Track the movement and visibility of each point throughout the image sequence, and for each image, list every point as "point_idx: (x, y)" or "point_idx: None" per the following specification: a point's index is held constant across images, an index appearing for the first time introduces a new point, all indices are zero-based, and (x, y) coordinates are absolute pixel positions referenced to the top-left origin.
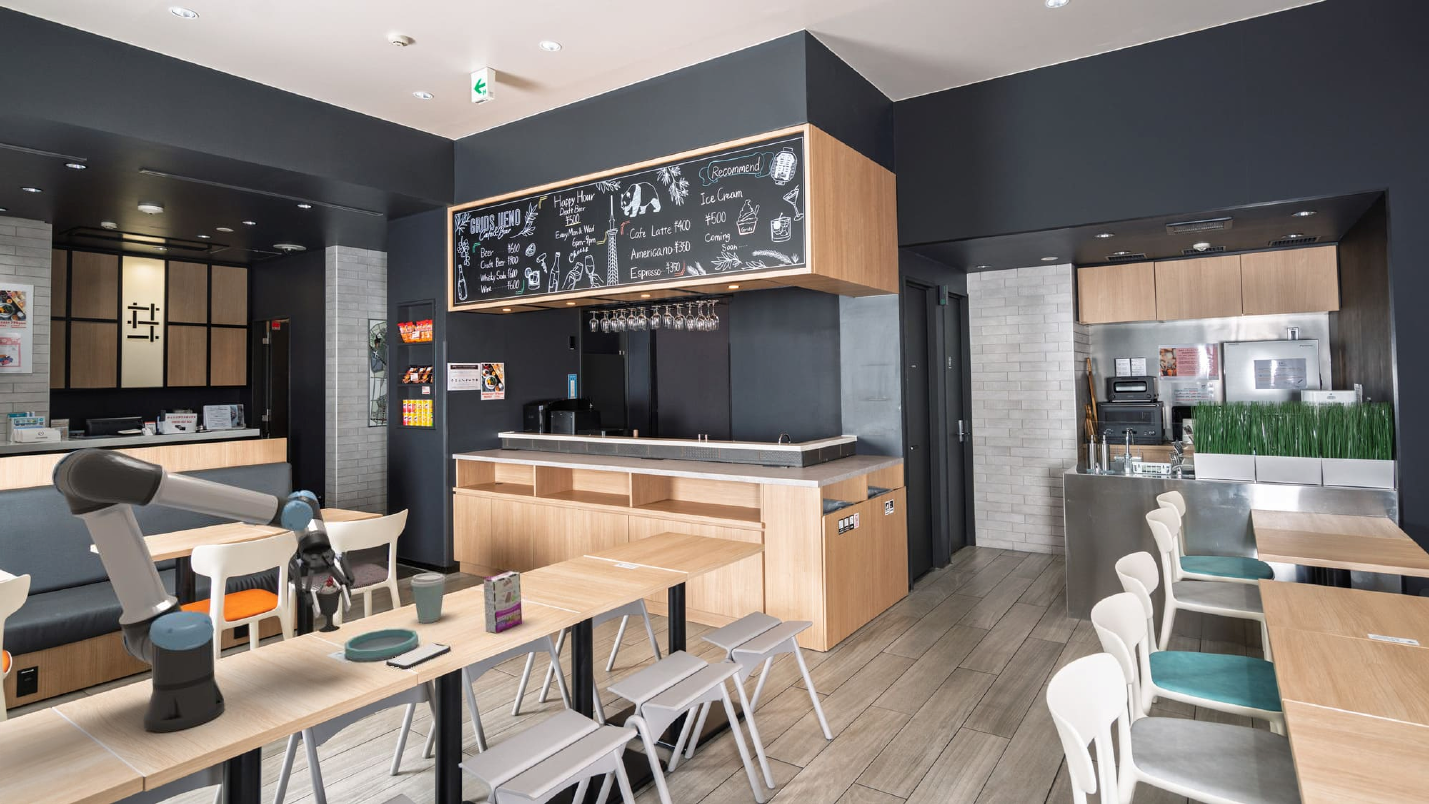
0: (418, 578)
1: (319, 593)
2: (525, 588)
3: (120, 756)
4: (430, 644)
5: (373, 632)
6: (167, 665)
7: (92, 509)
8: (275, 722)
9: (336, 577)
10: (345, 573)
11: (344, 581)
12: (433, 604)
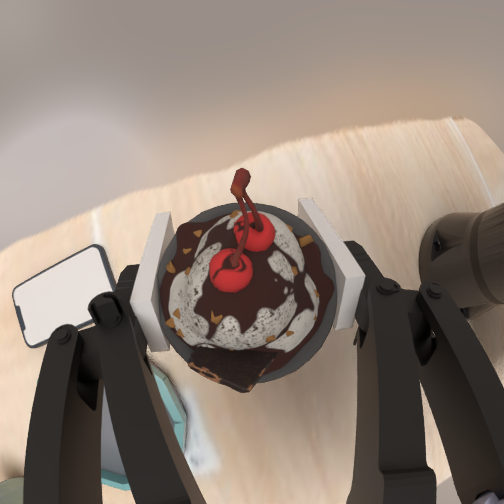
0: None
1: (314, 244)
2: None
3: (485, 187)
4: (31, 337)
5: (115, 482)
6: None
7: None
8: (348, 146)
9: (161, 412)
10: (85, 437)
11: (120, 329)
12: (3, 485)
